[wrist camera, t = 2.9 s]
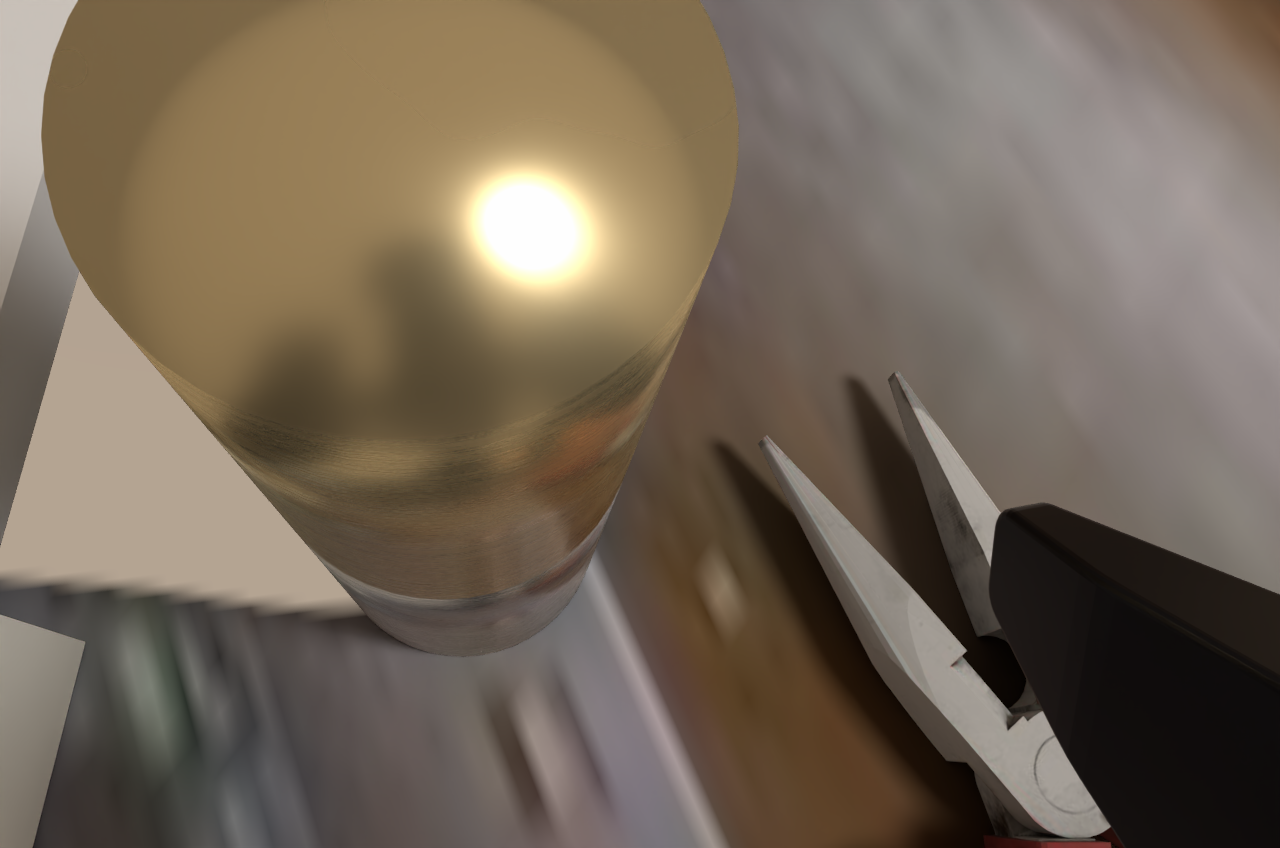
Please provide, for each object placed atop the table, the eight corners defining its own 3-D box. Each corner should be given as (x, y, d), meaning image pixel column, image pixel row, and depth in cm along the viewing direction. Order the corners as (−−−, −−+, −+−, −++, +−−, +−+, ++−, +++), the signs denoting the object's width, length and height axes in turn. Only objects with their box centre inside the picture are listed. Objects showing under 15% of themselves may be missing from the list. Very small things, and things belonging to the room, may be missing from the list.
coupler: (576, 672, 19) (704, 487, 7) (311, 638, 19) (-48, 380, 7) (608, 423, 21) (764, -106, 8) (360, 387, 20) (137, -217, 8)
